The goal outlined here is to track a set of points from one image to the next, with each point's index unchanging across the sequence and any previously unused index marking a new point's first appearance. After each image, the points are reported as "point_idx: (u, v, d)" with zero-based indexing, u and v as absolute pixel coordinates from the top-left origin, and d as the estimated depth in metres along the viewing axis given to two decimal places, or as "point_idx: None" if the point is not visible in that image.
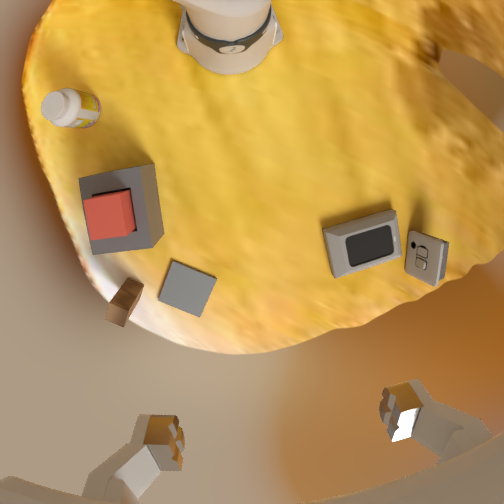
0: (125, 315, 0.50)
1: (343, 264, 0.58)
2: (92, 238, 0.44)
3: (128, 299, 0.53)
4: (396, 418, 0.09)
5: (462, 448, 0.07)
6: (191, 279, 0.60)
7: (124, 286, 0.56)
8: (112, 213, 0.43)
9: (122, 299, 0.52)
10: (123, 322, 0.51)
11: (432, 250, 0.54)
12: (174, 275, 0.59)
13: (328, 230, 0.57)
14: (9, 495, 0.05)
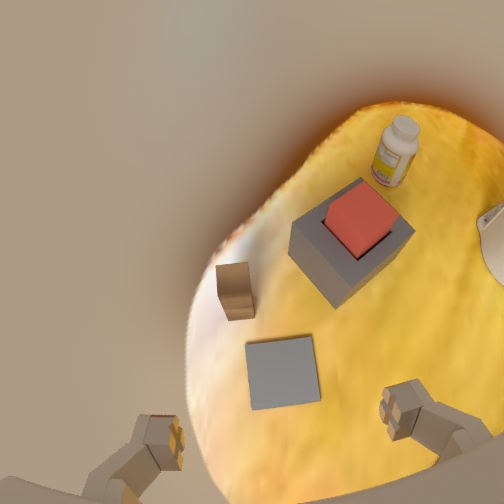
0: (241, 291, 0.34)
1: None
2: (333, 204, 0.36)
3: (251, 293, 0.38)
4: (396, 418, 0.09)
5: (462, 448, 0.07)
6: (301, 371, 0.40)
7: None
8: (377, 216, 0.35)
9: None
10: (226, 293, 0.34)
11: None
12: (293, 348, 0.41)
13: None
14: (9, 495, 0.05)
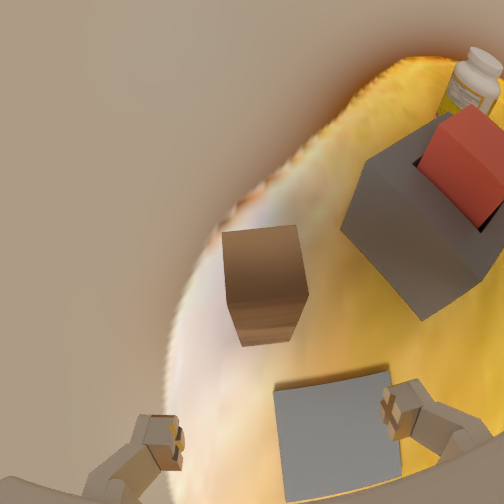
0: (284, 292, 0.14)
1: None
2: (444, 126, 0.16)
3: None
4: (396, 418, 0.09)
5: (462, 448, 0.07)
6: (373, 432, 0.19)
7: None
8: None
9: None
10: (249, 296, 0.14)
11: None
12: (360, 393, 0.21)
13: None
14: (9, 495, 0.05)
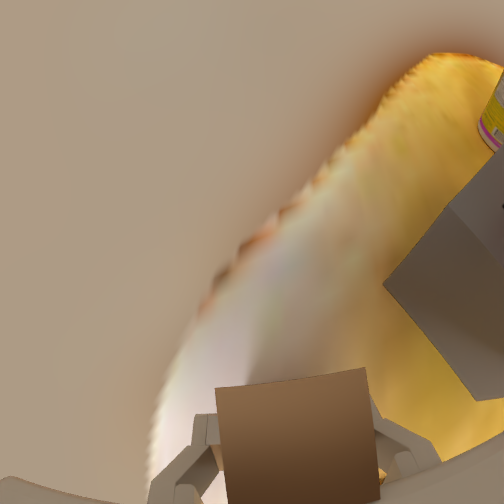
0: (339, 502, 0.05)
1: None
2: None
3: None
4: None
5: (403, 472, 0.07)
6: None
7: None
8: None
9: None
10: None
11: None
12: None
13: None
14: (9, 495, 0.05)
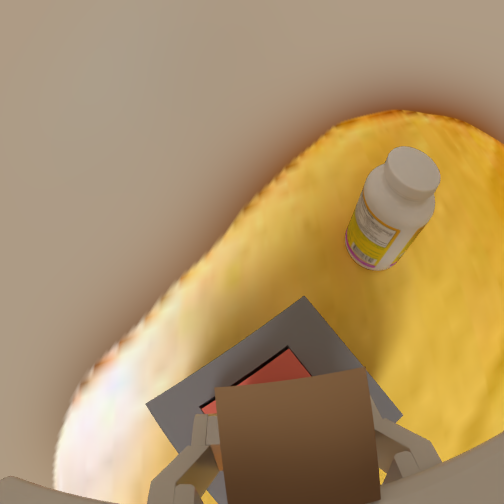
0: (339, 502, 0.05)
1: None
2: (208, 411, 0.16)
3: None
4: None
5: (403, 472, 0.07)
6: None
7: None
8: None
9: None
10: None
11: None
12: None
13: None
14: (9, 495, 0.05)
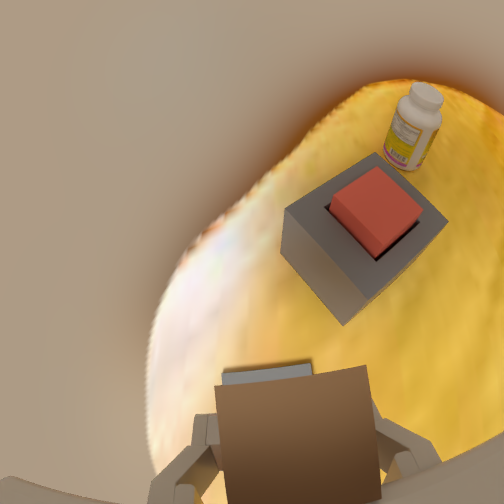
0: (340, 502, 0.05)
1: None
2: (338, 196, 0.27)
3: None
4: None
5: (403, 472, 0.07)
6: None
7: None
8: (396, 211, 0.26)
9: None
10: None
11: None
12: None
13: None
14: (9, 495, 0.05)
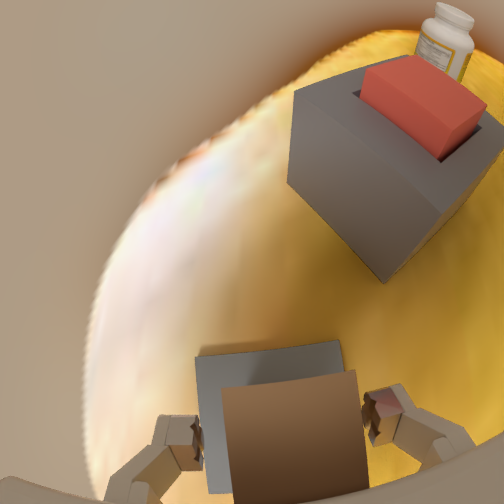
0: (331, 491, 0.06)
1: None
2: (373, 70, 0.15)
3: None
4: (376, 424, 0.09)
5: (442, 457, 0.07)
6: None
7: None
8: (455, 98, 0.14)
9: None
10: (273, 501, 0.06)
11: None
12: (301, 366, 0.18)
13: None
14: (9, 495, 0.05)
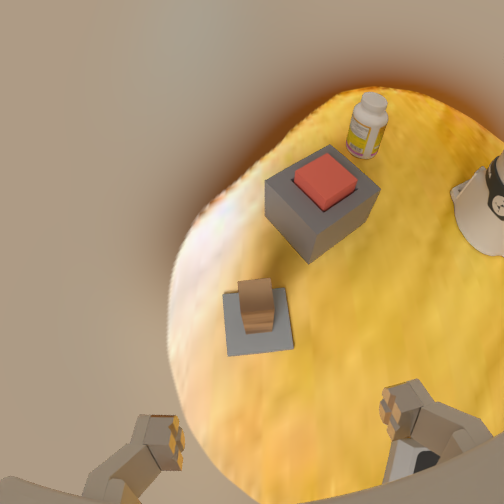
0: (264, 308, 0.33)
1: None
2: (298, 171, 0.42)
3: None
4: (396, 418, 0.09)
5: (462, 448, 0.07)
6: (275, 319, 0.44)
7: None
8: (337, 180, 0.41)
9: None
10: (249, 309, 0.33)
11: None
12: None
13: None
14: (9, 495, 0.05)
